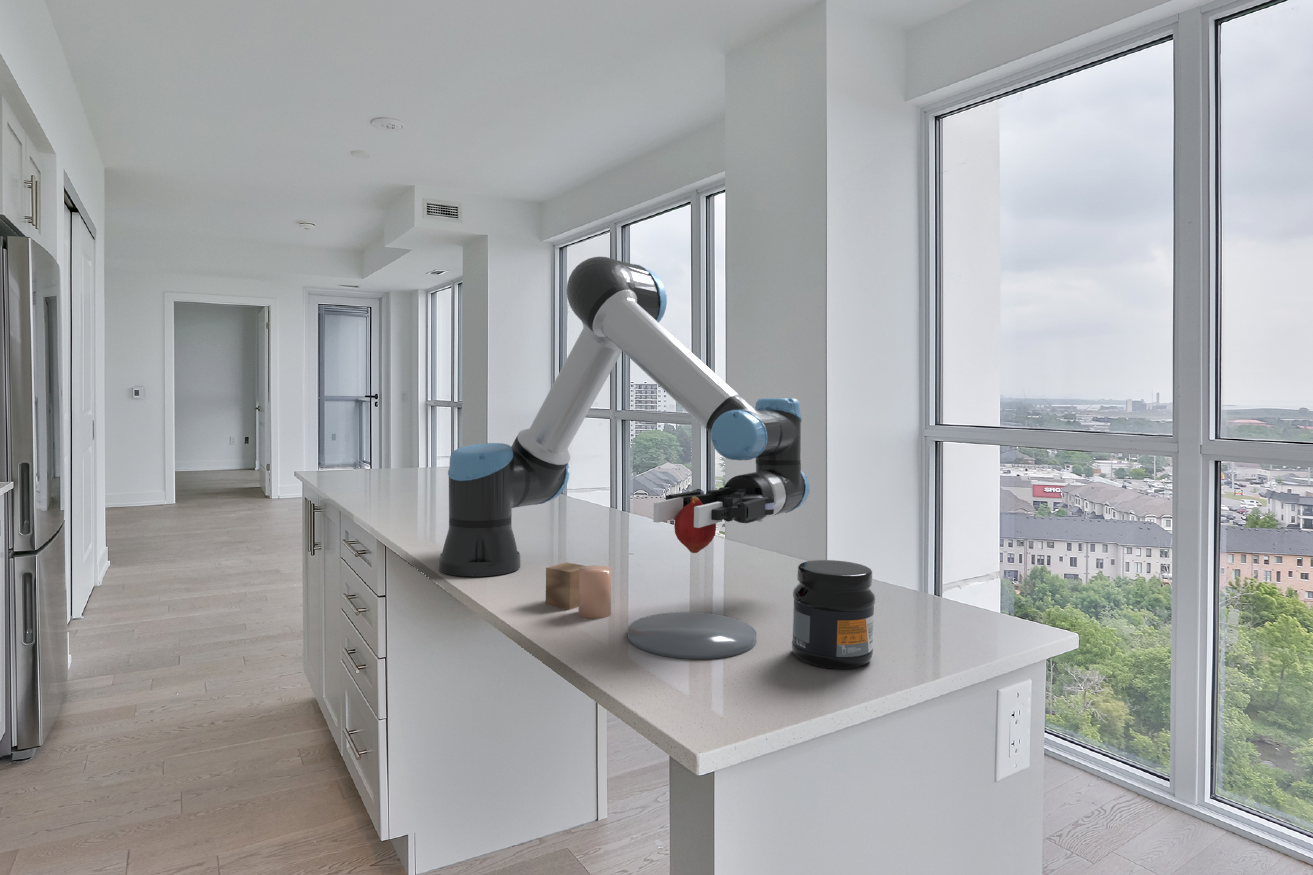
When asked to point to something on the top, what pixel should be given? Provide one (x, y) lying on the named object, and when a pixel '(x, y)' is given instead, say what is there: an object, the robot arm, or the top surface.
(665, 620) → the slate plate
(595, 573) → the cylinder
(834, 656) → the supplement container
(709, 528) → the red pomegranate
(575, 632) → the top surface
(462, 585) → the top surface
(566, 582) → the walnut block
